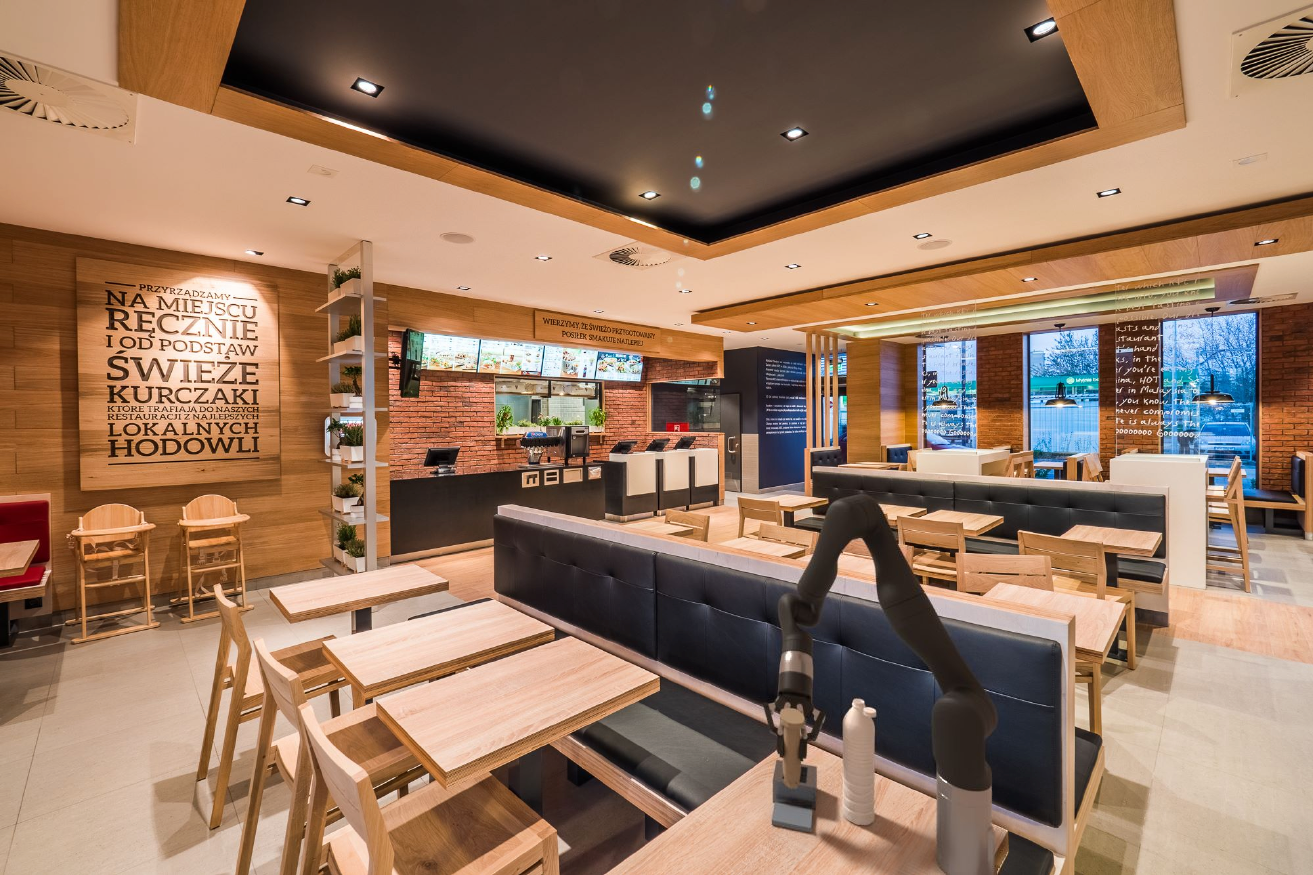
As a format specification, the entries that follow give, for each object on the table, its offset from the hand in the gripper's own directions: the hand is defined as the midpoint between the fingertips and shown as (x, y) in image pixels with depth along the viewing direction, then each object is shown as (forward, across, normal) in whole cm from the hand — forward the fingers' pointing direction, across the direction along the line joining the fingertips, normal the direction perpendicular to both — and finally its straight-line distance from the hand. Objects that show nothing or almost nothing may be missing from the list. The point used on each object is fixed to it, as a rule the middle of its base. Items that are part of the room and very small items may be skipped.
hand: (791, 757), depth 119 cm
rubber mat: (+9, 0, +11) cm, 14 cm away
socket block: (+3, 0, +17) cm, 18 cm away
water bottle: (+6, +14, +15) cm, 21 cm away
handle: (+4, 0, +6) cm, 7 cm away
